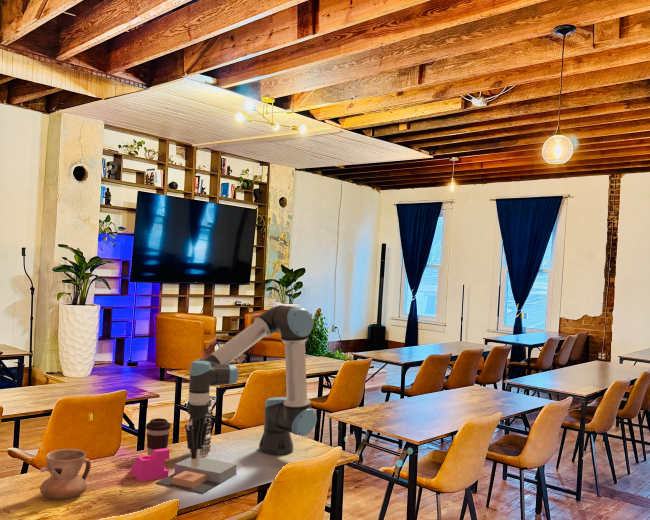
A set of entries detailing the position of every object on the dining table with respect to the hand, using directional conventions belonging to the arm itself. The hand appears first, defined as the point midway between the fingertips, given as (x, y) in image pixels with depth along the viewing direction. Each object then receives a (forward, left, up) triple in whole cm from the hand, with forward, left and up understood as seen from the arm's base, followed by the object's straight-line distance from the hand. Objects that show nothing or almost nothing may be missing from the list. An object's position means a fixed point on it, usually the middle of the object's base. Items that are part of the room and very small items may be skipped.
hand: (195, 466), depth 225 cm
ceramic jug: (+33, -29, -6) cm, 45 cm away
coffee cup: (-16, -29, -5) cm, 33 cm away
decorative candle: (-28, -16, -5) cm, 32 cm away
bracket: (+3, -18, -6) cm, 19 cm away
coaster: (+3, 0, -5) cm, 6 cm away
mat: (+1, 0, -5) cm, 5 cm away
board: (-8, 0, -5) cm, 9 cm away
